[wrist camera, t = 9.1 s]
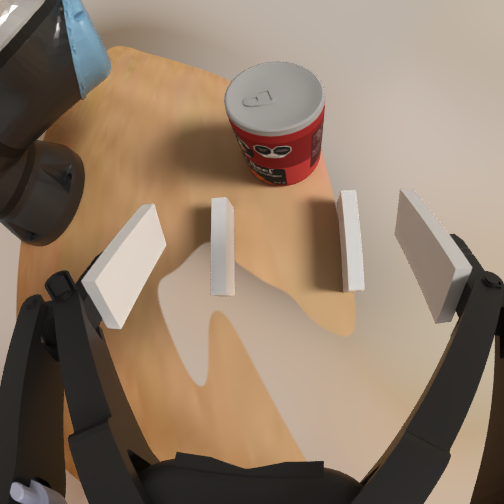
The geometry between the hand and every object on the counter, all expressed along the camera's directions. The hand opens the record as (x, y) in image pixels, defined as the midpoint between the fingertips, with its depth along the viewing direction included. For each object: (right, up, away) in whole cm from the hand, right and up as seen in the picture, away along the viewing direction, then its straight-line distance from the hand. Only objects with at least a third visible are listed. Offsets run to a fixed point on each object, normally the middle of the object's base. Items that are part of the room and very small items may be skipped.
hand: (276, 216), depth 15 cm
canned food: (+2, +9, +16) cm, 18 cm away
